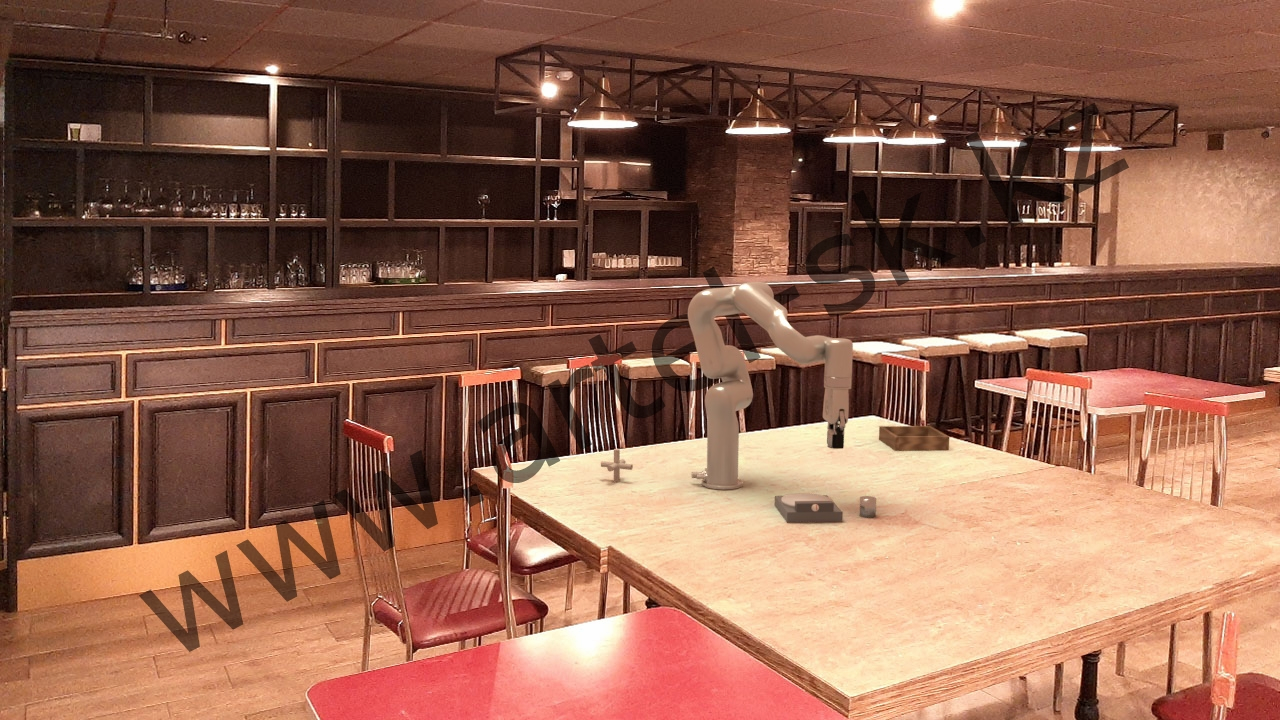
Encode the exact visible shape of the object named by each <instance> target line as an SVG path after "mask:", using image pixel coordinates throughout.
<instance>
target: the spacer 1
mask: <svg viewBox="0 0 1280 720" xmlns="http://www.w3.org/2000/svg"><path fill="white" fill-rule="evenodd" d="M827 431H828V444H827V448H829V449H833V448H832V434H834V428H830V429H827Z"/></svg>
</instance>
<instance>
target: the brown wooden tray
mask: <svg viewBox="0 0 1280 720" xmlns="http://www.w3.org/2000/svg"><path fill="white" fill-rule="evenodd" d="M878 440H879V441H880V442H881V443H883V444H885V445H886V446H887V447H889V448H890V449H892V450H893V451H894V452H911V451H912V452H913V451H914V452H917V451H920V452H925V451H926V452H927V451H928V452H929V451H938V452H939V451H943V452H944V451H950V436H949V435H947V434H946V433H944V432H942V431H940V430H938V429H936V428H935V427H934V426H932V425H911V426H910V425H899V426H898V425H897V426H896V425H895V426H894V425H888V426H887V425H886V426H885V425H884V426H882V425H880V426H878Z"/></svg>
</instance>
